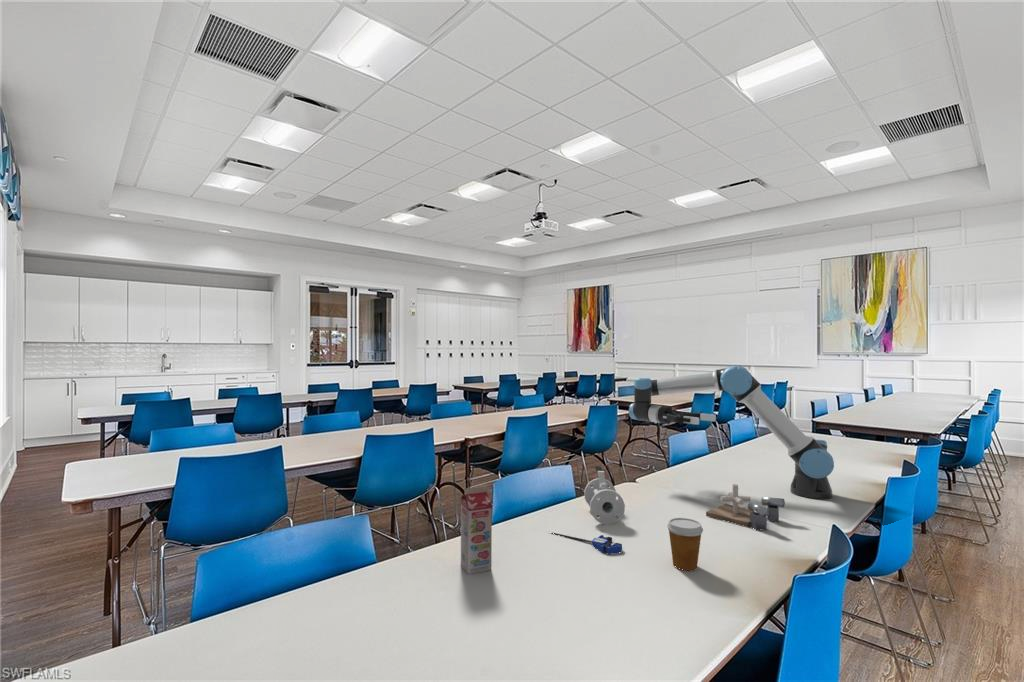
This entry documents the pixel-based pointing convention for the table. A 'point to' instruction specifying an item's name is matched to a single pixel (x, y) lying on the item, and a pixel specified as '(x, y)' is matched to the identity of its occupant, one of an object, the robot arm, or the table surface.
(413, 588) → the table surface
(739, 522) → the mounting pad
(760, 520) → the dark grey piece
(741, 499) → the pipe connector
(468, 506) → the juice carton
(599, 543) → the bar clamp
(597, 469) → the valve
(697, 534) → the disposable coffee cup
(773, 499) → the grey capsule on block
